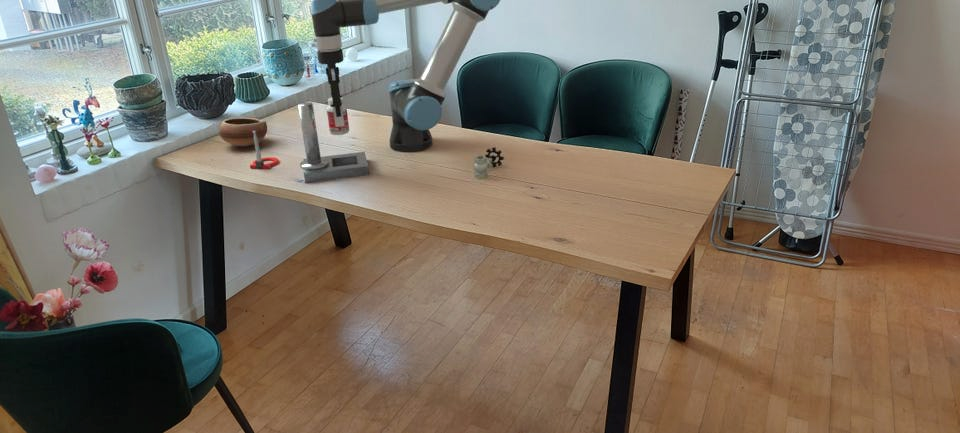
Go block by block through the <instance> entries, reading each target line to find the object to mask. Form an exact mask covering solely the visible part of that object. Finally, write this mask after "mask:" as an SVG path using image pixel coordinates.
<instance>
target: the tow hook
mask: <svg viewBox="0 0 960 433" xmlns="http://www.w3.org/2000/svg"><path fill="white" fill-rule="evenodd" d="M253 133H254V143H255V144H254V148H255V156H256V160H253V162H252V163H250V164H249V168H250V169H271V167H273V166H275V165H278V164H279V163H280V161H279V158H277V157H271V156H270V157H262V154H261V152H260V146H259V142H258V138H257V136H256V131H253ZM264 162H266V163H264ZM267 162H268V163H267Z"/></svg>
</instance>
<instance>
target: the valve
mask: <svg viewBox="0 0 960 433" xmlns="http://www.w3.org/2000/svg"><path fill="white" fill-rule="evenodd" d="M485 151H486V153H487V154H485V155H477V156H475V157H474V158H473V161H474V162H473V163H474V164H473V170H474V178H475V179H477V180H485V179H486V178H487V177H488V169H489V168H490V166H492V168H496V167H497V166H499V167H500V166H502V165H503V163H502V161H504V160H505V157H504V156H501V154H502V150H497V148H496V147H495V146H493V147H492V148H488V149H486V150H485ZM492 153H493V154H492ZM497 159H498V160H497Z"/></svg>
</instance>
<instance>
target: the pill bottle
mask: <svg viewBox="0 0 960 433" xmlns="http://www.w3.org/2000/svg"><path fill="white" fill-rule="evenodd" d="M340 98H341V103H342V111H343V119H344V126H339V127H336V126H335V118H334V111H333V107H331V105H333V100H332V96H330V97H329V98H327V104H328V106H327V107H326V115H327V122H328V130H329V133H330V135H333V136H343V135H346V134H348V133H349V132H350V125H349V124H350V123H349V117H348V116H349V115H348V109H347V105H346V104H344V98H343V96H342V97H340Z"/></svg>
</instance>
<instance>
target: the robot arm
mask: <svg viewBox="0 0 960 433" xmlns="http://www.w3.org/2000/svg"><path fill="white" fill-rule="evenodd" d="M500 2H501V0H310V11H311V12H310V13H311V18H312V25H313V31H314V39H313V40H312V41H313V43H315V45H316V49H317V52H316V55H317V62H318V63H319V64H321V65H327V66H326V67H325V73H326V76H327V81H328V85H329V86H330V96H331V97H332V100H333V105H331V107H333V111H334V118H335V126H336V127H339V126H344V119H343V111H342V103H341V98H340V97H342V98H343V95H341V91H340V85H339V84H340V82H341V81H340V69H339V66H337V64H341V63H342V62H344V53H343V49H342V47H343V42H342V37H341V36H342V35H341V30H340V28H347V27H358V26H360V27H361V26H370V25H374V24H377V23H378V22H379V19H380V18H379V17H380V16H379V15H380V14H385V13H391V12H395V11H401V10H405V9H410V8H411V9H412V8H416V7H422V6H425V5H426V6H427V5H430V4H437V3H442V4H444V5H448V4H451V5H452V8H453V11H452V12H451V14H450V17H449V18H448V21H447V23H446V24H445V27H444V28H443V31H442V32H441V35H440V36H439V39H438V41H437V42H436V45H435V47H434V49H433V51H432V53H431V55H430V57H429V59H428V61H427V63H426V65H425V67H424V69H423V71H422V73H421V76H420V77H419V78H409V79H400V80H395V81H392V82H390V84H389V86H388V92H389V99H390V109H391V120H392V127H391V132H390V136H389V147H390V149H391V150H394V151H397V152H403V153H404V152H407V153H409V152H419V151H422V150H426V149H428V148H430V147H432V146H433V144H434V143H433V135H432V133H431V131H430V129H433V128H434V127H436V126H437V125H438V123H439V122H440V121H441V118H442V117H443V116H442V114H443V109H442V105H443V103H444V101H445V98H446V94H445V88H446V86H447V84H448V83H449V81H450V78H451V76H452V75H453V72H454V70H455V69H456V67H457V64H458V63H459V62H460V61H459V60H460V58H461V56H462V54H464V53H463V52H464V50H465V49H466V47H467V44H468V42H469V41H470V40H471V36H472V35H473V33H474V30H475V29H476V27H477V25H478V24H479V23H480V22H483V21H485V20H486V17H487V15H488V13H489V12H490V11H492V10H494V9H495V8H496V7H497V6H498V5H499V4H500Z"/></svg>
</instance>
